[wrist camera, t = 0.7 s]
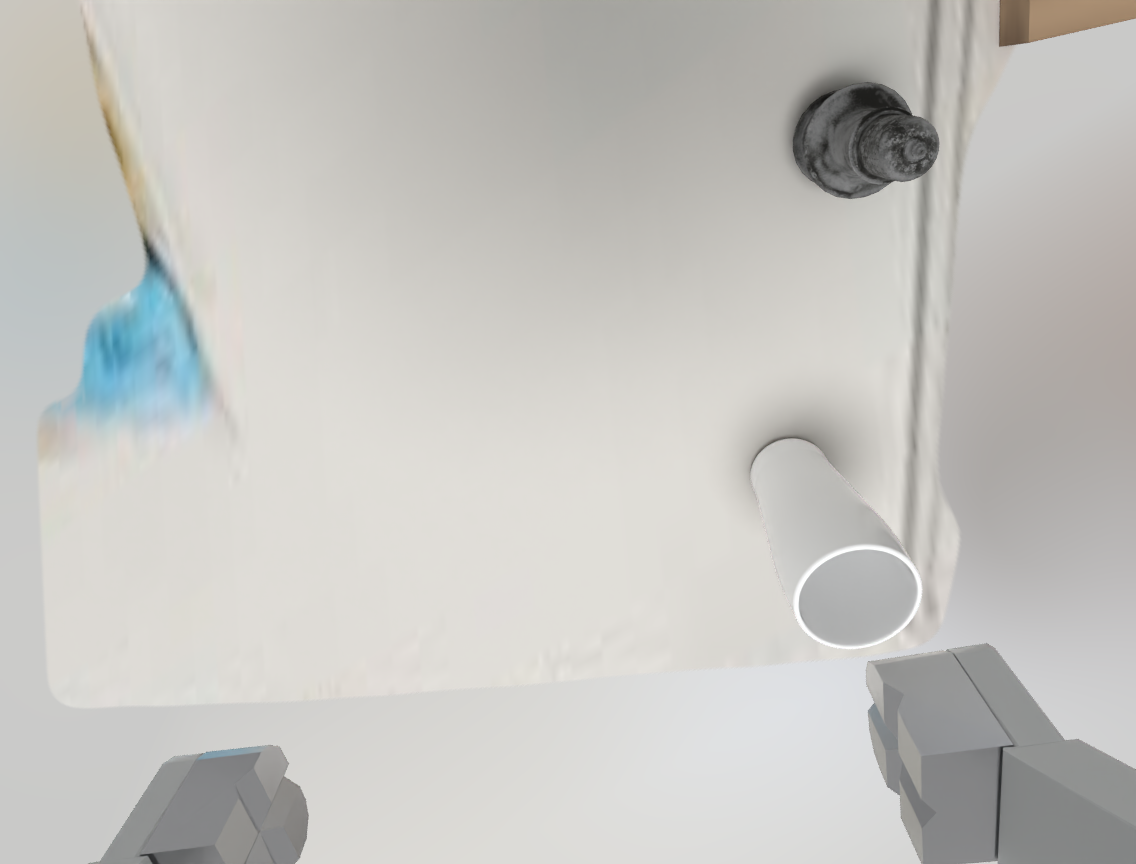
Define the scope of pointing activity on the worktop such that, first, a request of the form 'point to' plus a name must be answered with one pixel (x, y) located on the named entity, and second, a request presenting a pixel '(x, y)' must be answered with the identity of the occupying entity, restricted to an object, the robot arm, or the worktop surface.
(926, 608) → the worktop surface
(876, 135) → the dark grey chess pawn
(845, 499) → the drinking glass
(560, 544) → the worktop surface
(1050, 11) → the base block
